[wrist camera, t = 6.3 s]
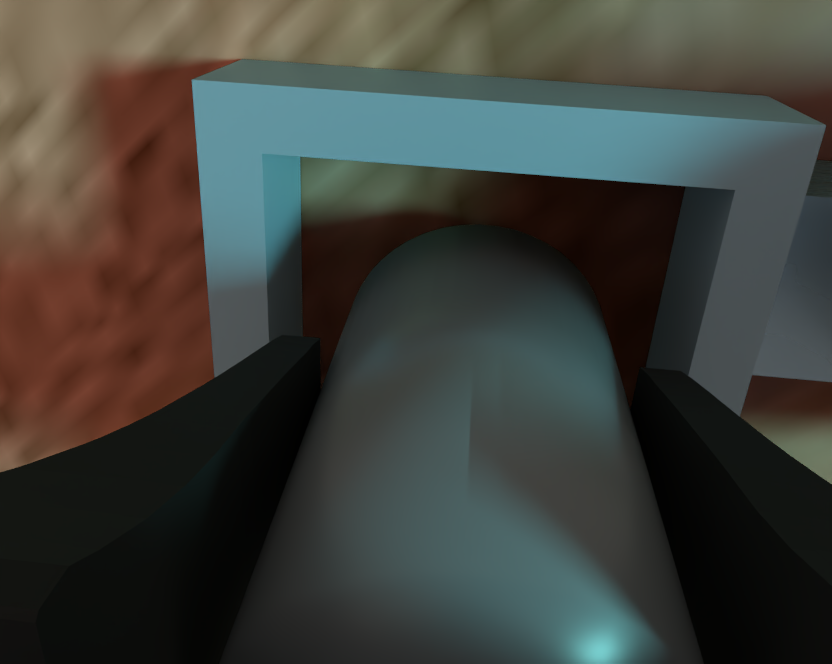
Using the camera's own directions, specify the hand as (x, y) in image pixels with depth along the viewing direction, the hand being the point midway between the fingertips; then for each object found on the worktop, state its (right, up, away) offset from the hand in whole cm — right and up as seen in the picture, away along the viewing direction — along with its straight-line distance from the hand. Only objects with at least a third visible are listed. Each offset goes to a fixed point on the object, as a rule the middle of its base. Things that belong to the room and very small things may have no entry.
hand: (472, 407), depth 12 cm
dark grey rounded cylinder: (0, +1, +2) cm, 2 cm away
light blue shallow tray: (0, +2, +3) cm, 3 cm away
